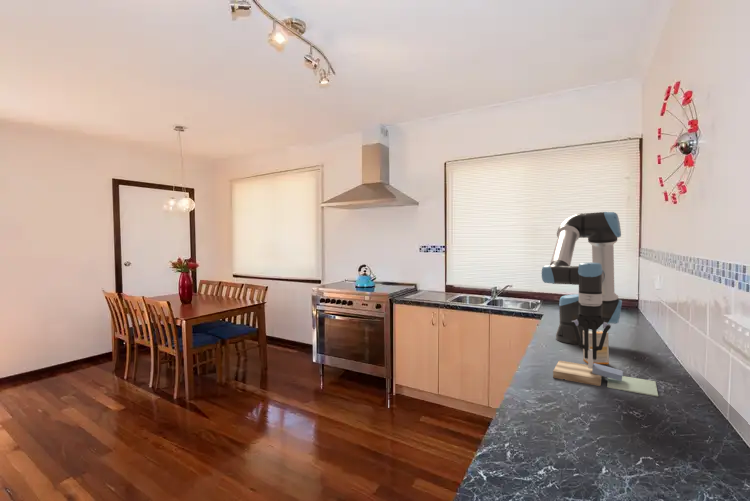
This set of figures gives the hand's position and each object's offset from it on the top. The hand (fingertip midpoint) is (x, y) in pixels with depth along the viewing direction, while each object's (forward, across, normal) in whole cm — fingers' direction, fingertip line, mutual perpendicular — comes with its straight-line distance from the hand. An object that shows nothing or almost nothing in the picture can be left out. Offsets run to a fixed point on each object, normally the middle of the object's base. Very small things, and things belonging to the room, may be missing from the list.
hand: (590, 367), depth 133 cm
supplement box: (+4, 0, +20) cm, 21 cm away
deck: (+4, -4, 0) cm, 6 cm away
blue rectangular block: (+2, +5, 0) cm, 5 cm away
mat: (+4, +12, 0) cm, 13 cm away
